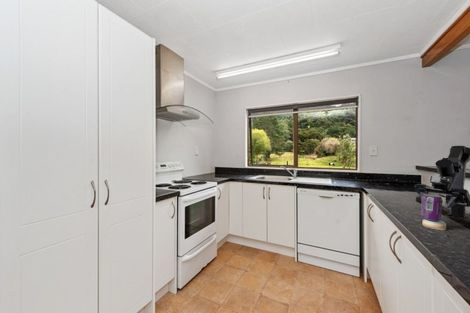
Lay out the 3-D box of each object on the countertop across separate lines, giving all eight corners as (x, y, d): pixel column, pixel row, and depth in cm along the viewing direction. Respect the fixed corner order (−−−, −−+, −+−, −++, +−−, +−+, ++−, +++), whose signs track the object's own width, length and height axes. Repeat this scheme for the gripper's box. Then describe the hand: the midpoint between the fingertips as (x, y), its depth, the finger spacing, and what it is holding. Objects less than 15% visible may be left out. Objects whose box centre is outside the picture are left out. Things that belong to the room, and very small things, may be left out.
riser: (427, 223, 101) (427, 217, 101) (449, 228, 94) (449, 222, 94) (419, 225, 97) (419, 219, 97) (441, 231, 90) (441, 224, 90)
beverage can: (444, 223, 93) (447, 197, 92) (427, 221, 94) (429, 196, 94) (432, 217, 100) (435, 194, 99) (416, 216, 101) (418, 192, 100)
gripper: (416, 168, 106) (404, 191, 101) (468, 171, 89) (457, 198, 84) (423, 182, 109) (412, 204, 105) (475, 188, 92) (464, 214, 88)
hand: (434, 205), depth 95 cm, fingers open, 9 cm apart
